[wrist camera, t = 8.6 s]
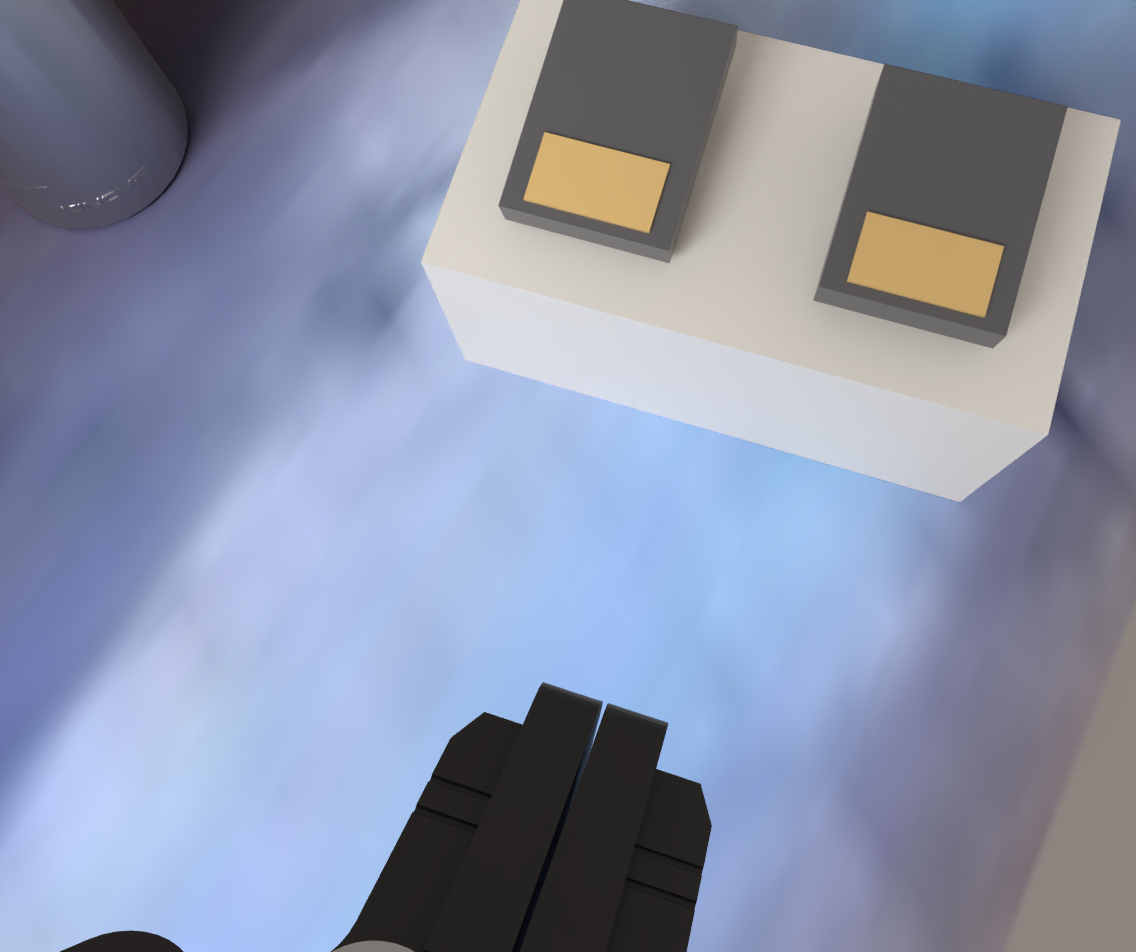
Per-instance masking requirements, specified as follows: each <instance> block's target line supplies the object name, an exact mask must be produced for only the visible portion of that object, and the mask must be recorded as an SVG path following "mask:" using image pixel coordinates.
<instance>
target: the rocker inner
mask: <svg viewBox="0 0 1136 952" xmlns="http://www.w3.org/2000/svg"><path fill="white" fill-rule="evenodd" d="M737 30H738V26H735V25H731V24H727V23H722V22H718V21H714V20H710V19H705V18H701V17H697V16H692V15H688V14H684V13H680V12H675V11H671V10H667V9H663V8H658V7H654V6H650V5H646V4H641V3H637V2H633V1H628V0H563V3H562V6H561V9H560V12H559V16H558V19H557V22H556V25H555V28H554V31H553V35H552V38H551V41H550V44H549V47H548V50H547V53H546V57H545V60H544V63H543V66H542V69H541V72H540V76H539V79H538V82H537V85H536V88H535V91H534V94H533V98H532V101H531V104H530V107H529V110H528V113H527V117H526V120H525V123H524V126H523V129H522V132H521V135H520V139H519V142H518V145H517V148H516V151H515V154H514V158H513V161H512V164H511V167H510V170H509V173H508V177H507V180H506V183H505V186H504V189H503V192H502V195H501V199H500V202H499V205H498V206H499V208H500V210H501V212H502V214H503V216H504V218H505V219H506V220H509V221H513V222H517V223H521V224H524V225H528V226H532V227H536V228H539V229H543V230H547V231H550V232H554V233H558V234H562V235H565V236H569V237H573V238H577V239H580V240H584V241H588V242H592V243H595V244H599V245H603V246H607V247H610V248H614V249H618V250H622V251H625V252H629V253H633V254H636V255H640V256H644V257H648V258H651V259H655V260H659V261H663V262H666V263H670V261H671V258H672V254H673V251H674V248H675V245H676V241H677V238H678V235H679V232H680V228H681V225H682V222H683V218H684V215H685V212H686V209H687V205H688V202H689V199H690V196H691V192H692V189H693V186H694V182H695V179H696V176H697V173H698V169H699V166H700V163H701V160H702V156H703V153H704V150H705V147H706V143H707V140H708V137H709V133H710V130H711V127H712V124H713V120H714V117H715V114H716V111H717V107H718V104H719V101H720V97H721V94H722V91H723V88H724V84H725V81H726V78H727V75H728V71H729V68H730V65H731V62H732V58H733V55H734V52H735V48H736V41H737Z"/></svg>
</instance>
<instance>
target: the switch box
mask: <svg viewBox="0 0 1136 952" xmlns="http://www.w3.org/2000/svg"><path fill="white" fill-rule="evenodd" d="M562 3H563V0H520V3H519V6H518V8H517V11H516V13H515V16H514V19H513V21H512V24H511V27H510V29H509V32H508V34H507V37H506V40H505V42H504V45H503V48H502V50H501V53H500V55H499V58H498V61H497V63H496V66H495V69H494V71H493V74H492V76H491V79H490V82H489V84H488V87H487V90H486V92H485V95H484V97H483V100H482V103H481V105H480V108H479V111H478V113H477V116H476V118H475V121H474V124H473V126H472V129H471V132H470V134H469V137H468V139H467V142H466V145H465V147H464V150H463V153H462V155H461V158H460V160H459V163H458V166H457V168H456V171H455V174H454V176H453V179H452V181H451V184H450V187H449V189H448V192H447V195H446V197H445V200H444V202H443V205H442V208H441V210H440V213H439V216H438V218H437V221H436V223H435V226H434V229H433V231H432V234H431V237H430V239H429V242H428V245H427V247H426V250H425V252H424V255H423V258H422V260H421V263H422V265H423V267H424V269H425V271H426V274H427V276H428V278H429V280H430V283H431V285H432V287H433V289H434V291H435V294H436V296H437V298H438V300H439V303H440V305H441V307H442V309H443V311H444V314H445V316H446V318H447V320H448V322H449V325H450V327H451V329H452V331H453V334H454V336H455V338H456V340H457V342H458V345H459V347H460V349H461V351H462V354H463V356H464V358H465V360H467V361H471V362H474V363H478V364H481V365H485V366H488V367H492V368H495V369H499V370H502V371H506V372H509V373H513V374H516V375H520V376H523V377H527V378H530V379H534V380H537V381H540V382H544V383H547V384H551V385H554V386H558V387H561V388H565V389H568V390H572V391H575V392H579V393H582V394H586V395H589V396H593V397H596V398H600V399H603V400H607V401H610V402H613V403H617V404H620V405H624V406H627V407H631V408H634V409H638V410H641V411H645V412H648V413H652V414H655V415H659V416H662V417H666V418H669V419H673V420H676V421H679V422H683V423H686V424H690V425H693V426H697V427H700V428H704V429H707V430H711V431H714V432H718V433H721V434H725V435H728V436H732V437H735V438H739V439H742V440H746V441H749V442H752V443H756V444H759V445H763V446H766V447H770V448H773V449H777V450H780V451H784V452H787V453H791V454H794V455H798V456H801V457H805V458H808V459H812V460H815V461H818V462H822V463H825V464H829V465H832V466H836V467H839V468H843V469H846V470H850V471H853V472H857V473H860V474H864V475H867V476H871V477H874V478H878V479H881V480H885V481H888V482H891V483H895V484H898V485H902V486H905V487H909V488H912V489H916V490H919V491H923V492H926V493H930V494H933V495H937V496H940V497H944V498H947V499H951V500H954V501H957V502H961V501H962V500H963V499H964V498H966V497H967V496H968V495H970V494H971V493H972V492H974V491H975V490H976V489H978V488H979V487H980V486H982V485H983V484H984V483H985V482H987V481H988V480H989V479H991V478H992V477H993V476H995V475H996V474H997V473H999V472H1000V471H1001V470H1003V469H1004V468H1005V467H1006V466H1008V465H1009V464H1010V463H1012V462H1013V461H1014V460H1016V459H1017V458H1018V457H1020V456H1021V455H1022V454H1024V453H1025V452H1026V451H1027V450H1029V449H1030V448H1031V447H1033V446H1034V445H1035V444H1037V443H1038V442H1039V441H1041V440H1042V439H1043V438H1044V437H1046V436H1047V435H1048V433H1049V429H1050V424H1051V420H1052V416H1053V411H1054V407H1055V403H1056V398H1057V394H1058V390H1059V385H1060V381H1061V377H1062V372H1063V368H1064V364H1065V359H1066V355H1067V351H1068V346H1069V342H1070V338H1071V334H1072V329H1073V325H1074V321H1075V316H1076V312H1077V308H1078V303H1079V299H1080V295H1081V290H1082V286H1083V282H1084V277H1085V273H1086V269H1087V264H1088V260H1089V256H1090V251H1091V247H1092V243H1093V238H1094V234H1095V230H1096V225H1097V221H1098V217H1099V212H1100V208H1101V204H1102V199H1103V195H1104V191H1105V186H1106V182H1107V178H1108V173H1109V169H1110V165H1111V160H1112V156H1113V152H1114V147H1115V143H1116V139H1117V135H1118V130H1119V126H1120V122H1121V120H1119V119H1115V118H1111V117H1106V116H1102V115H1098V114H1093V113H1089V112H1085V111H1081V110H1076V109H1072V108H1067V111H1066V115H1065V119H1064V123H1063V126H1062V130H1061V134H1060V137H1059V141H1058V145H1057V149H1056V152H1055V156H1054V160H1053V164H1052V167H1051V171H1050V175H1049V178H1048V182H1047V186H1046V190H1045V193H1044V197H1043V201H1042V205H1041V208H1040V212H1039V216H1038V219H1037V223H1036V227H1035V231H1034V234H1033V238H1032V242H1031V245H1030V249H1029V253H1028V257H1027V260H1026V264H1025V268H1024V272H1023V275H1022V279H1021V283H1020V286H1019V290H1018V294H1017V298H1016V301H1015V305H1014V309H1013V313H1012V316H1011V320H1010V324H1009V327H1008V331H1007V335H1006V337H1005V338H1004V339H1003V340H1002V341H1001V342H999V343H998V344H997V345H996V346H995V347H994V348H993V349H992V348H989V347H985V346H981V345H977V344H974V343H970V342H966V341H962V340H959V339H955V338H951V337H947V336H944V335H940V334H936V333H933V332H929V331H925V330H921V329H918V328H914V327H910V326H906V325H903V324H899V323H895V322H891V321H888V320H884V319H880V318H876V317H873V316H869V315H865V314H861V313H858V312H854V311H850V310H846V309H843V308H839V307H835V306H832V305H828V304H824V303H820V302H817V301H813V299H814V296H815V292H816V289H817V286H818V282H819V279H820V275H821V272H822V269H823V265H824V262H825V258H826V255H827V252H828V248H829V245H830V241H831V238H832V235H833V231H834V228H835V224H836V221H837V218H838V214H839V211H840V207H841V204H842V201H843V197H844V194H845V190H846V187H847V184H848V180H849V177H850V173H851V170H852V167H853V163H854V160H855V156H856V153H857V150H858V146H859V143H860V139H861V136H862V133H863V129H864V126H865V122H866V119H867V116H868V112H869V109H870V105H871V102H872V99H873V95H874V92H875V88H876V85H877V82H878V80H879V77H880V74H881V72H882V69H883V66H884V64H881V63H876V62H872V61H868V60H864V59H859V58H855V57H851V56H847V55H842V54H838V53H834V52H830V51H825V50H821V49H817V48H812V47H808V46H804V45H800V44H795V43H791V42H787V41H783V40H778V39H774V38H770V37H766V36H761V35H757V34H753V33H749V32H744V31H740V30H737V41H736V48H735V52H734V55H733V58H732V62H731V65H730V68H729V71H728V75H727V78H726V81H725V84H724V88H723V91H722V94H721V97H720V101H719V104H718V107H717V111H716V114H715V117H714V120H713V124H712V127H711V130H710V133H709V137H708V140H707V143H706V147H705V150H704V153H703V156H702V160H701V163H700V166H699V169H698V173H697V176H696V179H695V182H694V186H693V189H692V192H691V196H690V199H689V202H688V205H687V209H686V212H685V215H684V218H683V222H682V225H681V228H680V232H679V235H678V238H677V241H676V245H675V248H674V251H673V254H672V258H671V261H670V263H666V262H663V261H659V260H655V259H651V258H648V257H644V256H640V255H636V254H633V253H629V252H625V251H622V250H618V249H614V248H610V247H607V246H603V245H599V244H595V243H592V242H588V241H584V240H580V239H577V238H573V237H569V236H565V235H562V234H558V233H554V232H550V231H547V230H543V229H539V228H536V227H532V226H528V225H524V224H521V223H517V222H513V221H509V220H506V219H505V218H504V216H503V214H502V212H501V210H500V208H499V206H498V205H499V202H500V199H501V195H502V192H503V189H504V186H505V183H506V180H507V177H508V173H509V170H510V167H511V164H512V161H513V158H514V154H515V151H516V148H517V145H518V142H519V139H520V135H521V132H522V129H523V126H524V123H525V120H526V117H527V113H528V110H529V107H530V104H531V101H532V98H533V94H534V91H535V88H536V85H537V82H538V79H539V76H540V72H541V69H542V66H543V63H544V60H545V57H546V53H547V50H548V47H549V44H550V41H551V38H552V35H553V31H554V28H555V25H556V22H557V19H558V16H559V12H560V9H561V6H562Z"/></svg>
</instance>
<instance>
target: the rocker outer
mask: <svg viewBox="0 0 1136 952" xmlns="http://www.w3.org/2000/svg"><path fill="white" fill-rule="evenodd" d="M1067 108H1068V107H1067V106H1063V105H1059V104H1054V103H1050V102H1046V101H1041V100H1037V99H1033V98H1029V97H1024V96H1020V95H1016V94H1012V93H1007V92H1003V91H999V90H995V89H990V88H986V87H982V86H978V85H973V84H969V83H965V82H961V81H956V80H952V79H948V78H944V77H939V76H935V75H931V74H926V73H922V72H918V71H914V70H909V69H905V68H901V67H897V66H892V65H888V64H884V66H883V69H882V72H881V74H880V77H879V80H878V82H877V85H876V88H875V92H874V95H873V99H872V102H871V105H870V109H869V112H868V116H867V119H866V122H865V126H864V129H863V133H862V136H861V139H860V143H859V146H858V150H857V153H856V156H855V160H854V163H853V167H852V170H851V173H850V177H849V180H848V184H847V187H846V190H845V194H844V197H843V201H842V204H841V207H840V211H839V214H838V218H837V221H836V224H835V228H834V231H833V235H832V238H831V241H830V245H829V248H828V252H827V255H826V258H825V262H824V265H823V269H822V272H821V275H820V279H819V282H818V286H817V289H816V292H815V296H814V299H813V301H817V302H820V303H824V304H828V305H832V306H835V307H839V308H843V309H846V310H850V311H854V312H858V313H861V314H865V315H869V316H873V317H876V318H880V319H884V320H888V321H891V322H895V323H899V324H903V325H906V326H910V327H914V328H918V329H921V330H925V331H929V332H933V333H936V334H940V335H944V336H947V337H951V338H955V339H959V340H962V341H966V342H970V343H974V344H977V345H981V346H985V347H989V348H992V349H993V348H994V347H995V346H996V345H997V344H998V343H999V342H1001V341H1002V340H1003V339H1004V338H1005V337H1006V335H1007V331H1008V327H1009V324H1010V320H1011V316H1012V313H1013V309H1014V305H1015V301H1016V298H1017V294H1018V290H1019V286H1020V283H1021V279H1022V275H1023V272H1024V268H1025V264H1026V260H1027V257H1028V253H1029V249H1030V245H1031V242H1032V238H1033V234H1034V231H1035V227H1036V223H1037V219H1038V216H1039V212H1040V208H1041V205H1042V201H1043V197H1044V193H1045V190H1046V186H1047V182H1048V178H1049V175H1050V171H1051V167H1052V164H1053V160H1054V156H1055V152H1056V149H1057V145H1058V141H1059V137H1060V134H1061V130H1062V126H1063V123H1064V119H1065V115H1066V111H1067Z"/></svg>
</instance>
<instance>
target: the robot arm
mask: <svg viewBox="0 0 1136 952" xmlns="http://www.w3.org/2000/svg"><path fill="white" fill-rule="evenodd" d="M187 137H188V122H187V117H186V113H185V108H184V105H183V103H182V101H181V99H180V97H179V95H178V93H177V91H176V90H175V88H174V87H173V85H172V84H171V83H170V81H169V80H168V78H167V77H166V76H165V74H164V73H163V71H162V70H161V68H160V67H159V66H158V64H157V63H156V61H155V60H154V59H153V57H152V56H151V54H150V53H149V51H148V50H147V49H146V47H145V46H144V44H143V43H142V41H141V40H140V38H139V37H138V35H137V34H136V33H135V31H134V30H133V28H132V27H131V26H130V24H129V23H128V21H127V20H126V18H125V17H124V16H123V14H122V13H121V11H120V10H119V9H118V7H117V6H116V4H115V3H114V2H113V0H0V188H1V189H2V190H3V191H4V192H5V193H7V194H8V195H9V196H10V197H11V198H12V199H14V200H15V201H16V202H17V203H18V204H19V205H21V206H22V207H23V208H24V209H25V210H27V211H28V212H29V213H30V214H31V215H33V216H34V217H36V218H38V219H40V220H42V221H44V222H46V223H49V224H51V225H56V226H60V227H64V228H68V229H91V228H97V227H102V226H108V225H111V224H114V223H116V222H119V221H122V220H124V219H127V218H129V217H131V216H132V215H134V214H136V213H137V212H139V211H141V210H142V209H144V208H146V207H147V206H148V205H149V204H150V203H151V202H152V201H154V200H155V199H156V198H157V197H158V196H159V195H160V194H162V192H163V191H164V190H165V188H166V187H167V186H168V184H169V183H170V182H171V181H172V179H173V178H174V176H175V174H176V172H177V170H178V168H179V166H180V164H181V162H182V160H183V157H184V153H185V149H186V145H187ZM602 704H603V702H602V701H599V700H596V699H593V698H590V697H587V696H584V695H581V694H577V693H574V692H571V691H568V690H565V689H562V688H559V687H556V686H553V685H550V684H547V683H544V682H543V683H542V684H541V686H540V688H539V689H538V692H537V694H536V696H535V698H534V701H533V703H532V705H531V707H530V710H529V712H528V714H527V716H526V719H525V721H524V723H523V725H522V724H519V723H516V722H513V721H510V720H507V719H504V718H501V717H498V716H495V715H492V714H489V713H486V712H484V713H482V714H481V715H480V716H479V717H477V718H476V719H475V720H473V721H472V722H471V723H469V724H468V725H467V726H466V727H464V728H463V729H462V730H460V731H459V732H458V733H456V734H455V735H454V736H453V737H451V739H450V740H449V742H448V744H447V746H446V748H445V750H444V752H443V754H442V756H441V758H440V760H439V762H438V764H437V766H436V768H435V770H434V771H433V773H432V777H431V779H430V782H429V781H428V783H427V785H426V787H425V789H424V791H423V793H422V795H421V797H420V799H419V801H418V802H417V805H416V808H415V811H414V812H412V814H411V816H410V818H409V820H408V822H407V824H406V826H405V828H404V830H403V832H402V834H401V835H400V837H399V839H398V841H397V843H396V845H395V847H394V849H393V851H392V853H391V855H390V857H389V859H388V861H387V863H386V865H385V866H384V868H383V870H382V872H381V874H380V876H379V878H378V880H377V882H376V884H375V886H374V888H373V890H372V892H371V894H370V896H369V897H368V899H367V901H366V903H365V905H364V907H363V909H362V911H361V913H360V915H359V917H358V919H357V921H356V923H355V924H354V926H353V927H352V929H351V931H350V932H349V934H348V935H347V936H346V937H345V938H344V939H343V941H342V942H341V943H340V944H339V945H338V946H337V947H336V948H334V949H333V950H332V951H331V952H687V947H688V942H689V937H690V932H691V927H692V922H693V917H694V912H695V910H694V909H695V905H696V902H697V897H698V892H699V887H700V882H701V877H702V875H701V874H702V870H703V867H704V862H705V857H706V852H707V847H708V842H709V837H710V832H711V827H712V825H711V821H710V818H709V814H708V810H707V806H706V803H705V799H704V795H703V791H702V788H701V784H700V783H697V782H694V781H691V780H688V779H685V778H682V777H679V776H676V775H673V774H670V773H667V772H664V771H661V770H658V769H656V767H657V763H658V760H659V756H660V752H661V749H662V745H663V741H664V738H665V734H666V730H667V726H668V723H667V722H664V721H661V720H658V719H655V718H652V717H649V716H646V715H643V714H640V713H636V712H633V711H630V710H627V709H624V708H621V707H618V706H615V705H612V704H609V703H608V704H607V706H606V709H605V712H604V714H603V717H602V720H601V723H600V726H599V729H598V731H597V734H596V737H595V740H594V743H593V739H594V735H595V732H596V728H597V724H598V720H599V717H600V713H601V709H602ZM592 743H593V746H592ZM591 747H592V748H591ZM60 952H183V951H182V950H181V949H180V948H179V947H178V946H177V945H175V944H174V943H173V942H171V941H170V940H168V939H166V938H163V937H161V936H159V935H156V934H152V933H148V932H142V931H118V932H112V933H108V934H103V935H100V936H97V937H94V938H91V939H88V940H86V941H84V942H81V943H79V944H77V945H74V946H72V947H70V948H67V949H65V950H63V951H60Z"/></svg>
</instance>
